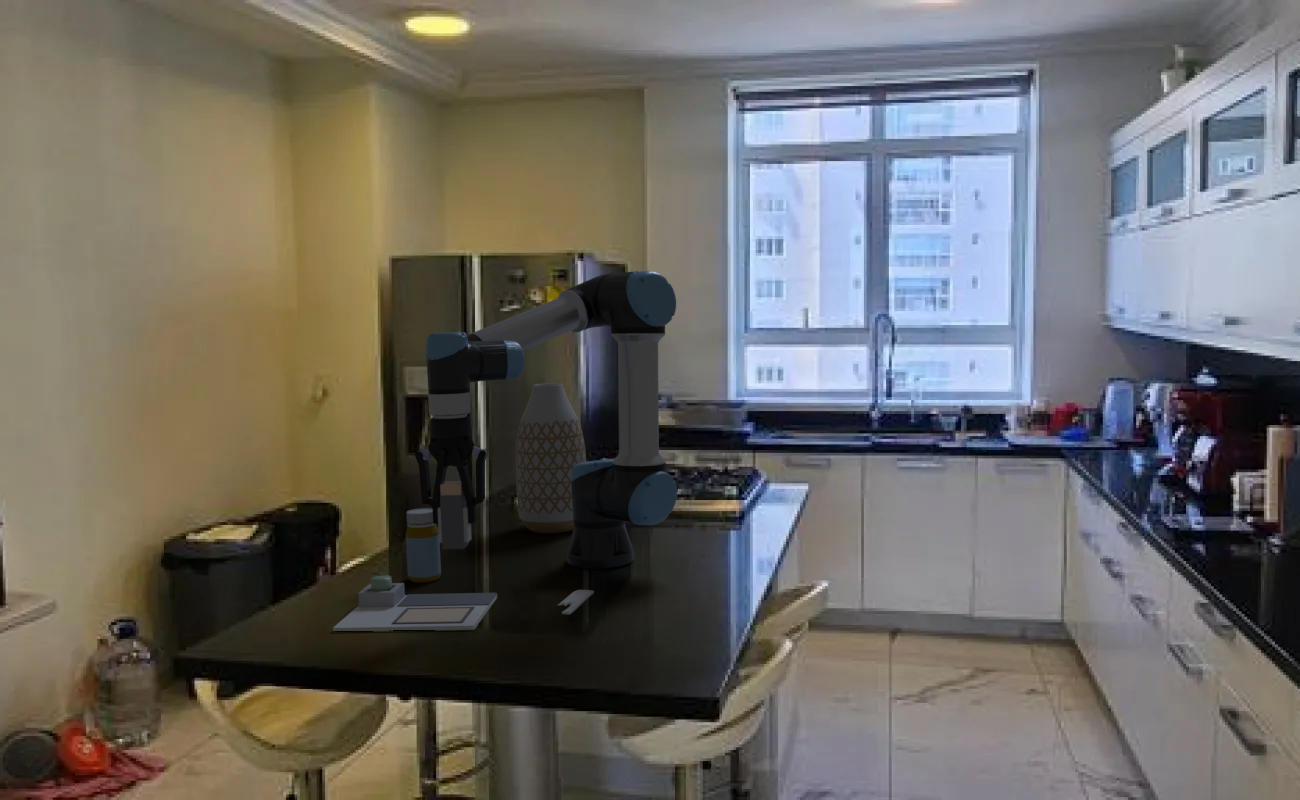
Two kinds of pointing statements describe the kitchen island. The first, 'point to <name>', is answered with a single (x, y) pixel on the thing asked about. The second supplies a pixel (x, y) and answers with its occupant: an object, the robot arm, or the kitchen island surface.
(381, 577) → the button
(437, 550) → the bottle
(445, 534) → the two-tone square rod
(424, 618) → the board
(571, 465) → the vase
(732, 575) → the kitchen island surface
